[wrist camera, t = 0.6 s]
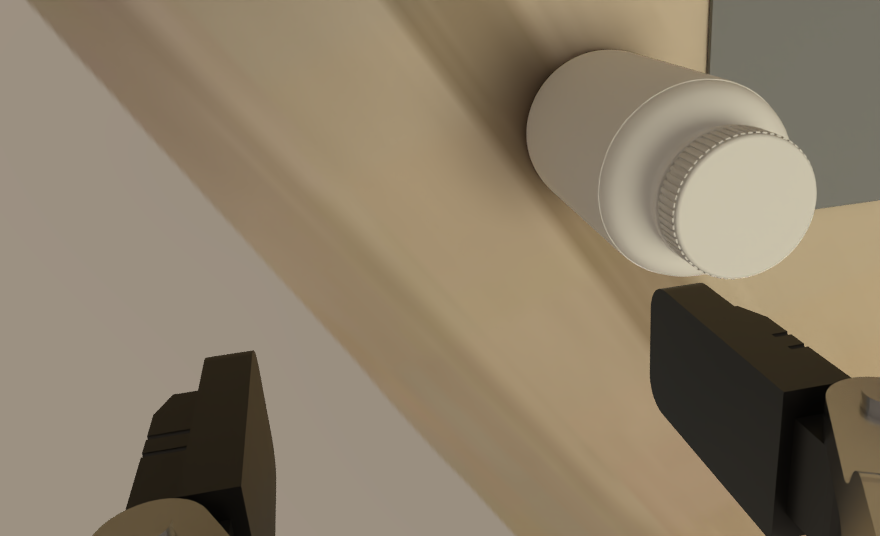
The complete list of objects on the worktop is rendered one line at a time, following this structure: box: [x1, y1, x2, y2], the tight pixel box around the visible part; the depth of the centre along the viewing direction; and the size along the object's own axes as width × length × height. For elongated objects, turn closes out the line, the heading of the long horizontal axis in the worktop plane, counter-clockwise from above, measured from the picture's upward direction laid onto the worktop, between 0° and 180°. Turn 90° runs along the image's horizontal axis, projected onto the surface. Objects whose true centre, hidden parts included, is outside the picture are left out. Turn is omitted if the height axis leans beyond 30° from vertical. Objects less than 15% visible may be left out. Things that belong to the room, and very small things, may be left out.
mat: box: [707, 0, 880, 209], centre depth 43 cm, size 18×12×1 cm, turn 95°
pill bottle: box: [526, 50, 817, 279], centre depth 34 cm, size 8×8×15 cm
